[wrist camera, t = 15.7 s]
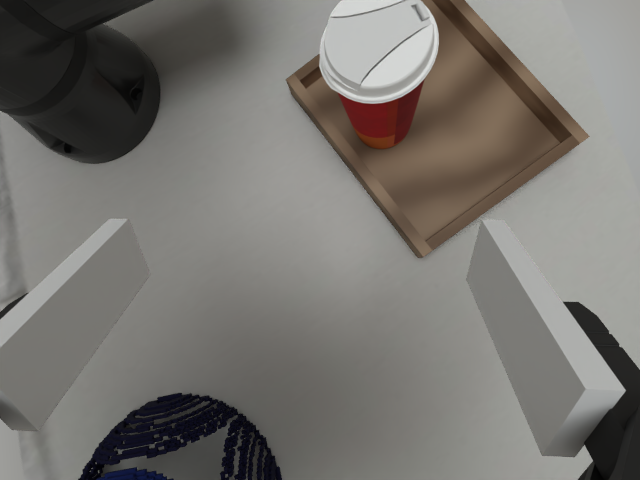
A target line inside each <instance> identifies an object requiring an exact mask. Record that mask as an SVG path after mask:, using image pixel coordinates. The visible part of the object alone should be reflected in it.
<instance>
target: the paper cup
mask: <svg viewBox="0 0 640 480" xmlns="http://www.w3.org/2000/svg"><path fill="white" fill-rule="evenodd" d="M438 45H439V33H438V28H437V24H436V22H435V19H434V17H433V15H432V14H431V12H430V10H429V9H428V8H427V7H426V6H425V5H424V3H423V2H422V1H421V0H341V1H340V2H339V4H338V5H337V6H336V7H335V9H334V10H333V11H332V13H331V15H330V17H329V20H328V24H327V26H326V28H325V30H324V33H323V36H322V39H321V44H320V62H319V67H320V70H321V73H322V76H323V77H324V79H325V81H326V83H327V84H328V85H329V86H330V88H331V89H333V90H334V91H336V92H337V93H338V95H339V97H340V99H341V101H342V104H343V106H344V108H345V110H346V113H347V115H348V117H349V119H350V121H351V124H352V126H353V128H354V130H355V132H356V134H357V135H358V137H359V138H360V140H361V141H362V142H363V143H365V144H366V145H367V146H369V147H372V148H375V149H387V148H390V147H393V146H395V145H397V144H398V143H400V142H401V141H402V140H403V139H404V137H405V136H406V135H407V133H408V131H409V129H410V126H411V123H412V120H413V117H414V114H415V111H416V107H417V104H418V101H419V97H420V94H421V90H422V87H423V83H424V80H425V77H426V76H427V74H428V73H429V72H430V70H431V68H432V66H433V64H434V62H435V59H436V56H437V52H438Z"/></svg>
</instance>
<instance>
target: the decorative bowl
mask: <svg viewBox="0 0 640 480" xmlns="http://www.w3.org/2000/svg"><path fill="white" fill-rule="evenodd" d="M198 398H199V400H198V401H196V402H193V403H191V402H192V401H193V400H195V399H198ZM157 399H158V400H156V401H151V402H148V403H147V404H145V406H142V407H140V409H138V410H133V411H132V412H130V414H128V415H127V418H125V419H124V420H123V421H122V422H120V423H118V425H117V426H115V427H114V428H113V429H112V430H111V431H110V433H109V434H108V435H107V437H105V438H104V440H103V441H102V442H100V443H99V447H97V448H96V449H95V451H94V454H93V456H92V457H93V458H91V460H90V461H89V462H88V463H87V465H86V466H85V468H84V469H83V474H82V475H81V478H79V479H78V480H167V476H164V477H163V473H161V474H157V473H156V471H152V472H147V469H143V470H138V471H137V467H135V468H129V469H124V470H118V471H113V472H107V473H106V474H105V477H101V473H103V470H102V468H104V465H105V464H106V465H107V464H110V465H114V464H119V463H120V460H123V459H129V458H134V457H140V456H145V455H146V456H147V458H152V457H156V456H157V455H162V454H166V453H167V452H171V451H177V450H178V449H179V448H180V447H185V446H186V445H187V442H188V441H190V440H191V443H193V442H195V441H198V440H199V439H200V437H199V436H201V435H204V437H207V436H208V435H211V434H212V433H215V432H216V431H217V426H218V429H221V428H222V427H225V426H226V425H227V422H226V421H227V420H228V419H229V418H232V417H233V416H234V415H238V417H237V418H236V420H233V421H232V422H231V423H230V427H229V429H228V433H227V434H228V436H230V437H228V438H226V439H225V444H224V447H225V448H224V449H223V450H224V452H226V457H223V458H222V461H223V462H222V467H224V466H225V467H224V471H223V472H221V473H220V475H221V480H229V477H232V475H233V473H234V472H233V469H234V464H233V461H234V456H235V454H236V453H235V448H233V447H236V445H237V444H238V442H237V440H238V435H239V434H240V433H239V431H237V430H240V429H241V428H242V427H243V429H245V430H242V434H244V435H241V436H240V438H241V440H242V439H243V440H242V446H239V447H238V448H237V449H238V451H240V456H239V459H240V460H239V466H238V468H239V470H238V474H236V475H235V476H234V478H235V479H238V480H245V479H246V473H247V472H246V469H247V459H248V457H247V455H248V450H249V445H250V443H251V441H250V439H251V438H252V435H249V434H250V432H253V431H254V434H255V437H254V439H253V444H252V445H251V451H250V452H249V455H250V456H249V466H248V469H249V470H248V476H247V477H248V480H252V471H253V468H252V467H253V462H252V459H253V457H254V456H255V454H254V452H255V446H256V441H257V440H258V439H260V440H261V441H259V442H258V445H261V446H260V451H259V453H258V454H259V457H258V459H257V461H258V463H257V473H256V474H257V480H262V479H261V476H262V473H261V472H262V462H263V461H262V458H263V456H264V455H263V452H264V447H265V449H267V455H266V456H265V458H264V460H265V462H264V465H265V466H264V468H263V472H264V480H275V476H276V480H282V478H281V473H280V468H279V467H277V466H276V461H275V456H272V454H271V449H270V448H268V447H267V442H266V437H265V438H263V435H260V433H259V430H257V431H256V425H253V423H250V421H247V419H246V416H243V414H238V412H237V409H235V410H234V407H231V408H229V405H227V406H226V403H223V401H219V402H218V400H217V399H215V400H212V398H210V397H209V395H208V396H203V397H199V395H195V396H192V394H186V395H182V393H178V394H173V395H168V396H163V397H158V398H157ZM166 401H168V402H166ZM203 401H205V402H207V401H210V403H208V404H207V405H205V406H203V407H202V408H199V409H197V410H196V411H193V412H192V413H189V414H185V415H183V416H181V417H178V418H176V419H172V420H170V421H166V422H163V423H161V424H155V425H154V422H150V421H154V420H156V419H161V418H167V417H169V416H172V415H173V414H178V413H180V412H183V411H185V410H188V409H191V408H192V407H195V406H196V405H198V404H201V403H202V402H203ZM161 402H164V403H161ZM188 403H191V404H189V405H187V406H184V407H182V406H183V405H185V404H188ZM216 403H218V404H217V408H216V409H215V407H211V406H212V405H213V404H216ZM178 407H182V408H179V409H176V410H174V411H170V410H172V409H175V408H178ZM209 407H211V408H210V409H208V410H206V411H204V410H205V409H206V408H209ZM228 408H229V410H228V411H226V410H227V409H228ZM167 411H169V412H168V413H165V414H162V415H157V416H152V417H147V418H135V416H137V415H139V416H149V415H154V414H159V413H164V412H167ZM202 411H203V412H202ZM200 412H202V413H201V414H199V415H196V416H194V415H195V414H198V413H200ZM211 412H213V415H212V413H211ZM220 414H222V415H221V417H222V419H221V418H220V417H218V416H219V415H220ZM191 416H194V417H192V418H189V417H191ZM216 417H217V418H216ZM186 418H189V419H187V420H184V421H182V420H183V419H186ZM214 418H216V419H215V420H213V419H214ZM210 420H212V421H210ZM179 421H182V422H179ZM209 421H210V422H209ZM219 421H220V424H219V425H218V424H217V423H218V422H219ZM141 422H142V423H145V422H150V423H145V424H140V425H137V426H136V428H135V429H132V427H131V428H125V427H126V425H129V423H130V424H136V423H141ZM177 422H178V423H177ZM243 422H246V423H245V424H244V423H243ZM172 423H176V424H175V428H172V425H171V424H172ZM205 423H207V424H206V426H207V427H206V432H205V431H204V429H205V425H204V424H205ZM168 425H171V426H168ZM201 425H204V426H201ZM150 426H153V429H155V428H161V427H165V428H161V429H156V430H155V431H150V432H145V431H149V430H150ZM196 427H198V428H197V429H195V428H196ZM191 430H193V431H191ZM121 432H122V433H123V434H124V435H120V434H121ZM135 432H138V433H140V432H145V433H140V434H134V435H130V433H135ZM184 432H186V433H184ZM125 433H126V434H129V435H126V434H125ZM183 433H184V434H183ZM233 433H235V434H234V435H232V434H233ZM156 434H159V436H160V437H157V438H154V435H156ZM180 434H182V435H181V436H180V440H181V439H183V441H184V442H182V443H181V441H180V440H177V437H174V436H179V435H180ZM231 435H232V436H231ZM163 436H168V438H171V439H170V440H164V441H163V442H160V443H156V444H155V448H151V449H150V448H149V446H145V447H139V448H134V449H129V450H124V451H122V454H119V455H117V454H118V450H117V451H114V448H116V447H117V449H120V450H122V449H128V448H133V447H138V446H144V445H149V444H154V443H155V442H159V441H162V440H163ZM172 437H174V438H172ZM246 437H247V438H246ZM244 438H246V439H244ZM125 440H126V441H125ZM123 441H124V444H122V443H123ZM162 446H164V450H159V449H158V447H162ZM229 449H231V450H229ZM110 456H112V457H111V459H110ZM109 459H110V460H109ZM95 462H96V463H97V464H96V463H95ZM91 468H93V469H91ZM98 470H99V472H100V473H98ZM90 471H91V472H90ZM225 474H228V477H227V478H225ZM95 475H96V476H95ZM168 480H173V479H168Z"/></svg>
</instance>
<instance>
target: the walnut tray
mask: <svg viewBox="0 0 640 480" xmlns="http://www.w3.org/2000/svg"><path fill="white" fill-rule="evenodd" d="M421 1H422V2H423V3H424V5H425V6H426V7H427V8H428V9H429V10H430V12H431V14H432V15H433V17H434V19H435V22H436V24H437V28H438V33H439V45H438V52H437V56H436V59H435V62H434V64H433V66H432V68H431V70H430V72H429V73H428V74H427V76H426V77H425V80H424V83H423V87H422V90H421V94H420V97H419V101H418V104H417V107H416V111H415V114H414V117H413V120H412V123H411V126H410V129H409V131H408V133H407V135H406V136H405V137H404V139H403V140H402V141H401V142H400V143H398V144H397V145H395V146H393V147H390V148H387V149H375V148H372V147H369V146H367V145H366V144H365V143H363V142H362V141H361V140H360V138H359V137H358V135H357V134H356V132H355V130H354V128H353V126H352V124H351V121H350V119H349V117H348V115H347V113H346V110H345V108H344V106H343V104H342V101H341V99H340V97H339V95H338V93H337V92H336V91H334V90H333V89H331V88H330V86H329V85H328V84H327V83H326V81H325V79H324V77H323V76H322V73H321V70H320V67H319V62H320V54H318V55H317V56H316V57H314V58H313V59H312V60H311V61H309V62H308V63H307V64H305V65H304V66H303V67H301V68H300V69H299V70H298V71H296V72H295V73H294V74H292V75H291V76H290V77H289V78H287V79H286V81H287V84H288V86H289V89H290V91H291V94H292V95H293V97H294V98H295V99H296V100H297V102H298V103H299V104H300V106H301V107H302V108H303V110H304V111H305V112H306V113H307V115H308V116H309V117H310V119H311V120H312V121H313V122H314V124H315V125H316V126H317V128H318V129H319V130H320V132H321V133H322V134H323V135H324V137H325V138H326V139H327V141H328V142H329V143H330V144H331V146H332V147H333V148H334V150H335V151H336V152H337V154H338V155H339V156H340V157H341V159H342V160H343V161H344V163H345V164H346V165H347V166H348V168H349V169H350V170H351V172H352V173H353V174H354V176H355V177H356V178H357V179H358V181H359V182H360V183H361V185H362V186H363V187H364V188H365V190H366V191H367V192H368V194H369V195H370V196H371V198H372V199H373V200H374V201H375V203H376V204H377V205H378V207H379V208H380V209H381V210H382V212H383V213H384V214H385V216H386V217H387V218H388V220H389V221H390V222H391V223H392V225H393V226H394V227H395V229H396V230H397V231H398V232H399V234H400V235H401V236H402V238H403V239H404V240H405V242H406V243H407V244H408V245H409V247H410V248H411V249H412V251H413V252H414V253H415V254H416V256H417V257H418V258H421V257H424V256H425V255H427V254H428V253H429V252H431V251H432V250H434V249H435V248H436V247H438V246H439V245H441V244H442V243H443V242H445V241H446V240H447V239H449V238H450V237H452V236H453V235H454V234H456V233H457V232H458V231H460V230H461V229H463V228H464V227H465V226H467V225H468V224H470V223H471V222H472V221H474V220H475V219H476V218H478V217H479V216H481V215H482V214H483V213H485V212H486V211H487V210H489V209H490V208H492V207H493V206H494V205H496V204H497V203H499V202H500V201H501V200H503V199H504V198H505V197H507V196H508V195H510V194H511V193H512V192H514V191H515V190H516V189H518V188H519V187H521V186H522V185H523V184H525V183H526V182H528V181H529V180H530V179H532V178H533V177H534V176H536V175H537V174H539V173H540V172H541V171H543V170H544V169H545V168H547V167H548V166H550V165H551V164H552V163H554V162H555V161H557V160H558V159H559V158H561V157H562V156H563V155H565V154H566V153H568V152H569V151H570V150H572V149H573V148H574V147H576V146H577V145H579V144H580V143H581V142H583V141H584V140H585V139H587V138H588V137H590V136H589V135H588V134H587V133H586V132H585V131H584V130H583V129H582V128H581V127H580V126H579V124H578V123H577V122H576V121H575V120H574V119H573V118H572V117H571V116H570V115H569V114H568V112H567V111H566V110H565V109H564V108H563V107H562V106H561V105H560V104H559V103H558V102H557V100H556V99H555V98H554V97H553V96H552V95H551V94H550V93H549V92H548V91H547V90H546V88H545V87H544V86H543V85H542V84H541V83H540V82H539V81H538V80H537V79H536V78H535V77H534V75H533V74H532V73H531V72H530V71H529V70H528V69H527V68H526V67H525V66H524V65H523V63H522V62H521V61H520V60H519V59H518V58H517V57H516V56H515V55H514V54H513V53H512V51H511V50H510V49H509V48H508V47H507V46H506V45H505V44H504V43H503V42H502V41H501V39H500V38H499V37H498V36H497V35H496V34H495V33H494V32H493V31H492V30H491V29H490V28H489V26H488V25H487V24H486V23H485V22H484V21H483V20H482V19H481V18H480V17H479V16H478V14H477V13H476V12H475V11H474V10H473V9H472V8H471V7H470V6H469V5H468V4H467V2H466V1H465V0H421Z"/></svg>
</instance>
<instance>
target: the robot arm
mask: <svg viewBox="0 0 640 480" xmlns="http://www.w3.org/2000/svg"><path fill="white" fill-rule="evenodd" d="M151 1H153V0H0V111H2V112H4V113H7V114H8V115H9V116H11V117H12V118H13V119H14V120H15V121H16V122H18V123H19V124H20V125H21V126H22V127H23V128H25V129H26V130H27V131H28V132H29V133H30V134H32V135H33V136H34V137H35V138H36V139H37V140H39V141H40V142H41V143H42V144H43V145H45V146H46V147H47V148H49V149H51V150H52V151H54V152H56V153H58V154H60V155H63V156H65V157H68V158H71V159H73V160H76V161H79V162H84V163H102V162H107V161H110V160H113V159H116V158H118V157H120V156H122V155H124V154H125V153H127V152H129V151H130V150H131V149H133V148H134V147H135V146H136V145H137V144H138V143H139V142H140V141H141V140H142V139H143V138H144V136H145V135H146V134H147V132H148V131H149V129H150V127H151V125H152V123H153V121H154V119H155V116H156V113H157V110H158V105H159V98H160V88H159V81H158V76H157V73H156V71H155V68H154V66H153V64H152V63H151V61H150V59H149V58H148V57H147V56H146V55H145V53H144V52H143V51H142V50H141V49H140V48H139V47H138V46H137V45H135V44H134V43H133V42H132V41H131V40H130V39H129V38H127V37H126V36H125V35H123V34H122V33H120V32H118V31H116V30H114V29H112V28H110V27H108V26H105V25H103V23H105V22H107V21H109V20H111V19H114V18H116V17H118V16H120V15H122V14H125V13H127V12H129V11H131V10H133V9H135V8H138V7H140V6H142V5H144V4H146V3H149V2H151ZM149 276H150V272H149V269H148V267H147V264H146V261H145V259H144V256H143V254H142V251H141V249H140V246H139V244H138V241H137V239H136V236H135V233H134V231H133V228H132V226H131V223H130V221H129V219H109V220H108V221H106V222H105V223H104V224H103V225H102V226H101V227H100V228H99V229H98V230H97V231H96V232H95V233H93V234H92V235H91V236H90V237H89V238H88V239H87V240H86V241H85V242H84V243H83V244H82V245H80V246H79V247H78V248H77V249H76V250H75V251H74V252H73V253H72V254H71V255H70V256H69V257H67V258H66V259H65V260H64V261H63V262H62V263H61V264H60V265H59V266H58V267H57V268H56V269H54V270H53V271H52V272H51V273H50V274H49V275H48V276H47V277H46V278H45V279H44V280H43V281H41V282H40V283H39V284H38V285H37V286H36V287H35V288H34V289H33V290H32V291H31V292H30V293H27V294H25V295H23V296H22V297H20V298H18V299H17V300H15V301H13V302H12V303H10V304H9V305H8V306H6V307H5V308H4V309H3V310H2V311H1V312H0V418H1V420H3V422H4V423H6V425H8V427H10V428H11V429H12V430H22V431H39V430H40V428H41V427H42V426H43V424H44V423H45V421H46V420H47V419H48V417H49V416H50V414H51V413H52V412H53V410H54V409H55V407H56V406H57V405H58V403H59V402H60V400H61V399H62V398H63V396H64V395H65V393H66V392H67V391H68V389H69V388H70V386H71V385H72V384H73V382H74V381H75V379H76V378H77V377H78V375H79V374H80V372H81V371H82V370H83V368H84V367H85V365H86V364H87V363H88V361H89V360H90V358H91V357H92V356H93V354H94V353H95V351H96V350H97V349H98V347H99V346H100V344H101V343H102V342H103V340H104V339H105V337H106V336H107V335H108V333H109V332H110V330H111V329H112V328H113V326H114V325H115V323H116V322H117V321H118V319H119V318H120V316H121V315H122V314H123V312H124V311H125V309H126V308H127V307H128V305H129V304H130V302H131V301H132V300H133V298H134V297H135V295H136V294H137V293H138V291H139V290H140V288H141V287H142V286H143V284H144V283H145V281H146V280H147V279H148V277H149ZM466 279H467V282H468V284H469V286H470V289H471V291H472V293H473V296H474V298H475V300H476V303H477V305H478V307H479V310H480V312H481V314H482V317H483V319H484V321H485V324H486V326H487V328H488V331H489V333H490V335H491V338H492V340H493V342H494V345H495V347H496V349H497V352H498V354H499V356H500V359H501V361H502V363H503V366H504V368H505V370H506V373H507V375H508V377H509V380H510V382H511V384H512V387H513V389H514V391H515V394H516V396H517V398H518V401H519V403H520V405H521V408H522V410H523V412H524V415H525V417H526V419H527V422H528V424H529V426H530V429H531V431H532V433H533V436H534V438H535V440H536V443H537V445H538V447H539V450H540V452H541V454H542V456H562V457H575V456H576V455H577V454H578V452H579V451H580V450H581V448H582V447H583V446H584V444H585V446H586V448H587V450H588V452H589V454H590V456H591V457H592V459H593V462H592V463H591V464H590V465H589V467H588V468H587V469H586V470H585V471H584V473H583V474H582V475H581V476H580V478H579V479H578V480H640V370H639V368H638V367H637V366H636V365H635V363H634V362H633V361H632V360H631V358H630V357H629V356H628V354H627V353H626V352H625V351H624V349H623V348H622V347H619V343H618V342H617V341H616V339H615V338H614V337H613V336H612V334H609V331H608V329H607V328H606V327H605V325H604V324H603V323H602V322H601V320H600V319H599V318H598V317H597V315H595V314H594V313H593V312H591V311H590V310H588V309H587V308H586V307H584V306H583V305H582V304H580V303H579V302H562V300H561V299H560V298H559V296H558V295H557V293H556V292H555V291H554V289H553V288H552V286H551V285H550V284H549V282H548V281H547V279H546V278H545V277H544V275H543V274H542V272H541V271H540V270H539V268H538V267H537V265H536V264H535V263H534V261H533V260H532V258H531V257H530V256H529V254H528V253H527V251H526V250H525V249H524V247H523V246H522V244H521V243H520V242H519V240H518V239H517V237H516V236H515V235H514V233H513V232H512V230H511V229H510V228H509V226H508V225H507V223H506V222H505V221H504V220H481V224H480V228H479V232H478V236H477V239H476V243H475V247H474V251H473V255H472V259H471V262H470V266H469V270H468V274H467V278H466Z"/></svg>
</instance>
